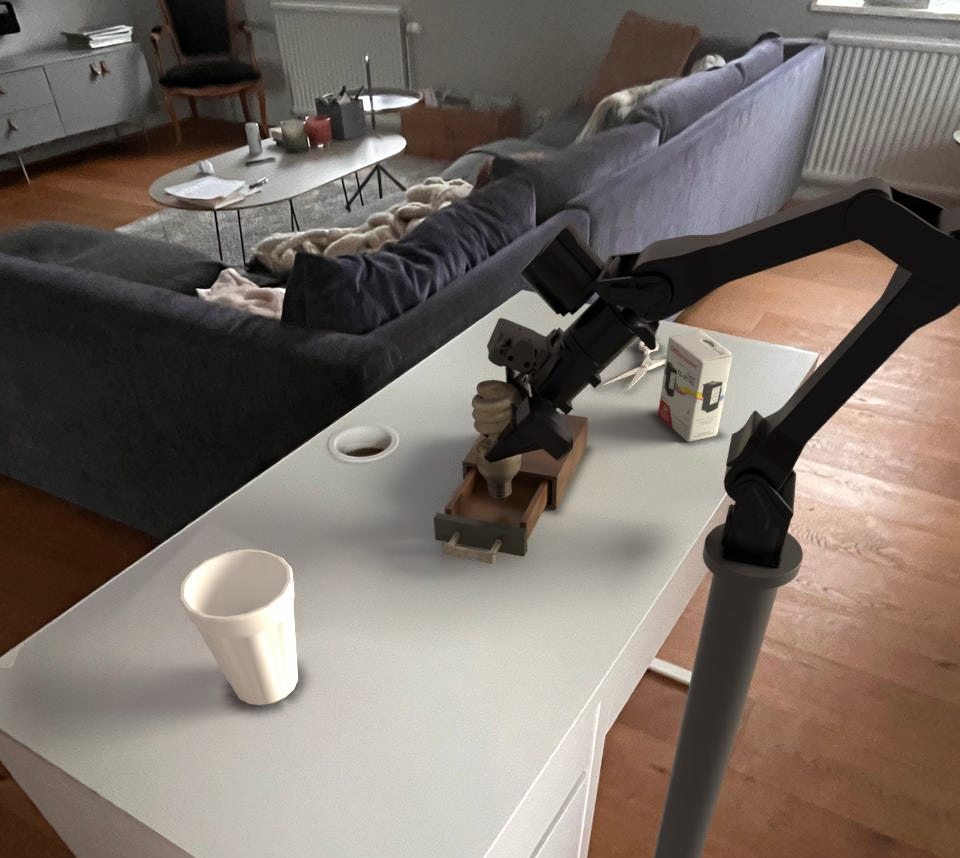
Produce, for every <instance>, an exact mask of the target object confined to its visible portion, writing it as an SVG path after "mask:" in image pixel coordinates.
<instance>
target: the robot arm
mask: <svg viewBox="0 0 960 858" xmlns="http://www.w3.org/2000/svg"><path fill="white" fill-rule="evenodd" d="M854 241H861V242H863V243H864V244H866V245H868V246H870V247H872V248H874V249H875V250H876V251H878V252H879V253H880V254H882V255H884V257H886V258H887V259H889V260H890V261H892V262H893V263H894V264H896V265H897V266H896V268H895V269H894V272H893V274H892V275H891V278H890V279H889V282H887V283H888V284H887V285H886V288H885V289H884V291H883V292H882V294H881V296H880V298H879V299H878V300H877V301H876V302H875V303H874V304H873V305H872V306H871V307H870V308H869V310H868V311H867V312H866V313H865V314H864V315H863V317H862V318H861V319H860V320H859V321H857V323H856V324H855V325H854V326H853V328H852V329H851V330H850V331H849V332H848V333H847V334H846V335H845V336H844V338H843V339H841V341H840V342H839V343H838V344H837V345H836V346H835V348H834V349H833V350H832V351H831V352H830V353H829V354H828V356H827V357H826V358H825V359H824V360H823V361H822V362H821V363H820V364H819V366H818V367H816V369H815V370H813V372H812V373H811V374H810V376H809V377H808V378H807V379H806V380H805V381H804V382H803V383H802V384H801V386H800V387H799V388H798V389H797V390H796V391H795V392H794V393H793V394H792V396H790V398H789V399H788V400H787V401H786V402H785V403H784V404H783V405H782V406H781V408H779V409H778V410H777V411H775V412H773V413H771V414H769V415H767V416H766V417H763V415H762V414H761V413H759V412H758V411H757V410H753V412H752V413H751V414H750V416H749V417H748V419H747V421H746V422H745V424H744V425H743V426H742V427H741V428H739V430H737V431H735V432H734V433H732V434H731V437H730V441H729V446H728V447H729V448H728V453H727V458H726V463H725V466H726V467H725V472H724V477H723V487H724V491H725V492H726V494H727V496H728V497H729V498H730V499H731V500H732V501H734V504H732V503H731V504H729V505H728V509H727V513H726V516H725V522H724V523H725V526H724V531H723V535H722V540H721V544H722V545H723V546H724V550H723V554H722V558H723V559H726V560H731V561H736V562H742V563H747V564H753V565H759V566H764V567H770V568H775V569H778V568H780V565H781V560H782V553H783V547H784V543H785V540H786V536H787V533H789V529H790V526H791V521H792V519H793V517H794V512H795V511H794V510H795V497H796V487H797V472H796V471H795V470H794V468H795V465H796V464H797V462H798V460H799V458H800V457H801V454H802V452H803V450H804V449H805V447H806V445H807V444H808V443H809V441H810V440H811V439H812V438H814V436H815V435H816V434H817V433H818V432H819V431H820V430H821V429H822V428H823V427H824V426H825V425H826V423H828V421H830V420H831V419H832V418H833V417H834V416H835V414H836V413H837V412H838V411H839V410H840V409H841V408H842V407H843V406H844V405H845V404H846V403H847V402H848V401H849V400H850V399H852V397H853V396H854V395H855V394H856V393H857V392H858V390H859V389H860V388H861V387H862V386H864V385H865V383H867V381H868V380H869V379H870V378H871V377H872V376H873V375H874V374H875V373H876V372H877V371H878V370H879V369H880V368H881V367H882V366H883V365H884V363H886V362H887V360H889V358H891V356H892V355H893V354H894V353H895V352H896V351H897V350H898V349H899V348H900V347H901V346H902V345H903V344H904V343H905V342H906V341H907V340H908V339H909V338H910V337H911V336H912V335H913V334H914V333H916V331H918V330H920V329H921V328H923V327H926V326H927V325H930V324H931V323H933V322H935V321H937V320H940V319H941V318H943V317H945V316H947V315H948V314H949V313H951V312H953V311H954V310H955V309H956V308H958V307H959V306H960V206H955V207H951V208H945V207H944V206H942V205H940V204H939V203H936V202H934V201H932V200H930V199H928V198H926V197H923V196H920V195H917V194H915V193H911V192H908V191H906V190H903V189H899V188H897V187H895V186H893V185H891V184H889V183H888V182H887V181H885V180H884V179H882V178H880V177H874V176H870V177H864V178H861V179H859V180H858V181H856V182H855V183H853V184H851V185H849V186H848V187H845V188H841V189H840V190H839V189H838V190H837V191H834V192H830V193H828V194H826V195H822V196H820V197H817V198H815V199H812V200H808V201H806V202H803V203H800V204H798V205H795V206H792V207H789V208H787V209H784V210H782V211H779V212H776V213H773V214H771V215H768V216H765V217H762V218H759V219H757V220H754V221H752V222H749V223H746V224H743V225H740V226H737V227H734V228H732V229H729V230H726V231H723V232H719V233H713V234H687V235H682V236H676V237H671V238H665V239H659V240H656V241H654V242H652V243H650V244H648V245H646V246H645V247H644V248H643V249H642V250H641V251H633V252H625V253H617V254H616V253H615V254H610V255H608V257H607V258H606V260H605V261H604V260H603V259H602V258H601V257H600V256H599V255H598V254H597V253H596V252H595V250H594V249H593V248H592V247H591V246H590V245H589V244H588V243H587V241H586V240H585V239H584V238H583V236H582V234H581V232H580V231H579V230H578V228H577V227H576V226H575V224H573V223H572V222H571V221H568V222H567V223H566V224H565V225H564V226H563V227H562V228H561V229H560V230H559V231H558V232H557V233H556V234H554V235H553V237H552V238H551V237H549V238H548V240H547V241H545V242H544V243H543V245H542V246H541V247H540V248H539V249H538V250H537V251H536V252H535V254H534V255H532V257H531V258H530V259H529V260H528V262H527V263H526V264H525V265H524V266H523V267H522V268H521V270H520V272H518V275H519V276H520V278H522V279H523V280H524V281H525V283H527V285H528V286H529V287H530V288H531V289H532V290H533V291H534V292H535V293H536V294H537V296H539V298H541V299H542V300H543V302H544V303H545V304H546V305H547V306H548V307H549V309H551V310H552V311H553V312H554V313H555V315H558V316H559V315H560V316H561V317H563V318H564V317H566V316H567V315H568V314H570V316H573V315H575V314H576V313H578V311H579V310H581V308H582V307H584V306H585V305H586V303H587V302H588V301H589V300H590V299H591V298H592V297H593V296H594V295H595V294H597V297H596V299H595V300H594V301H593V302H592V303H591V304H589V306H588V307H587V308H586V309H585V310H584V311H583V312H582V313H581V314H580V315H579V316H577V318H576V319H575V320H574V321H573V322H572V323H571V324H569V326H567V328H566V329H565V330H563V329H562V328H561V327H558V328H554V329H552V330H551V331H550V332H549V333H548V334H547V335H543V334H541V333H539V332H537V331H536V330H534V329H532V328H529V327H527V326H524V325H521V324H520V323H517V322H514V321H512V320H510V319H507V318H503V317H499V318H498V319H497V321H496V324H495V326H494V329H493V331H492V333H491V335H490V337H489V340H488V342H487V344H486V349H487V351H488V353H487V354H488V355H487V357H488V358H487V359H488V361H490V362H491V363H492V364H493V365H495V366H497V367H500V368H501V367H505V368H504V371H505V382H507V383H509V384H511V385H513V386H514V387H516V388H517V389H518V391H519V393H520V395H521V399H522V403H521V404H520V405H519V407H516V406H515V405H514V404H513V403H511V420H510V422H509V424H508V425H507V426H506V427H505V429H504V430H503V431H502V432H501V434H500V435H499V436H498V438H497V439H496V440H495V441H494V443H493V444H492V445H491V447H490V448H489V449H488V451H487V452H486V454H485V455H484V458H485V459H486V460H487V461H488V462H490V463H493V462H496V461H500V460H503V459H506V458H509V457H513V456H516V455H520V454H523V453H527V452H531V451H535V450H540V449H544V450H545V451H546V452H547V453H548V454H550V455H551V456H552V457H553V458H554V459H556V460H557V461H560V460H561V459H563V458H564V457H565V456H566V455H567V454H568V453H569V452H570V451H571V450H572V449H573V435H572V430H571V426H570V422H569V421H568V420H567V419H566V418H565V417H563V416H562V415H561V414H565V415H569V413H570V412H572V411H573V410H574V406H573V402H572V401H573V400H574V399H575V398H576V397H577V396H579V394H580V393H582V391H583V390H585V388H587V387H588V386H589V385H590V386H591V387H592V388H593V389H596V388H597V387H598V386H599V385H600V384H601V383H602V378H601V375H600V374H601V373H603V371H604V370H606V369H607V368H608V366H609V365H611V364H613V362H614V361H615V360H617V358H618V357H619V356H620V355H621V354H623V352H624V351H625V350H627V349H628V347H630V346H631V345H632V344H633V343H634V342H635V341H636V340H637V339H639V340H640V342H641V341H642V342H643V343H644V344H645V345H644V346H646V347H648V348H649V349H650V350H654V349H655V348H656V341H657V334H658V330H659V327H660V322H661V321H664V320H667V319H669V318H671V317H673V316H674V315H676V314H678V313H680V312H683V311H685V310H686V309H688V308H690V307H692V306H695V305H696V304H697V303H699V302H700V301H701V300H704V298H706V297H707V296H708V295H710V294H712V293H713V292H714V291H716V290H718V289H719V288H721V287H723V286H725V285H727V284H729V283H731V282H734V281H738V280H740V279H743V278H744V279H745V278H746V277H749V276H753V275H756V274H758V273H759V274H760V273H761V272H765V271H768V270H771V269H774V268H776V267H780V266H782V265H785V264H789V263H791V262H795V261H798V260H801V259H804V258H807V257H810V256H813V255H815V254H820V253H822V252H825V251H828V250H831V249H834V248H837V247H840V246H843V245H846V244H849V243H852V242H854ZM557 409H558V410H559V411H558V410H557ZM560 411H561V412H562V413H560ZM483 435H484V436H485V437H489V435H486V434H483Z"/></svg>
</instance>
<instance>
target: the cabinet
mask: <svg viewBox="0 0 960 858" xmlns="http://www.w3.org/2000/svg"><path fill="white" fill-rule="evenodd" d="M560 414H561V415H562V416H563V417H565V418H566V419H567V420H568V421H569V422H570V426H571V430H572V435H573V449H572V450H571V451H570V452H569V453H568V454H567V455H566V456H565V457H564V458H563V459H561V460H560V461H557V460H556V459H554V458H553V457H552V456H551V455H550V454H548V453H547V452H546V451H545V450H544V449H540V450H535V451H531V452H527V453H523V454H521V466H520V469H519V471H518V472H517V475H523V476H529V477H535V478H541V479H547V480H553V481H552V494H551V496H550V498H549V500H548V502H547V504H546V506H545V508H544V509H548V510H551V511H552V510H553V511H556V510H557V509H558V507H559V505H560V502H561V501H562V498H563V497H564V494H565V493H566V491H567V488H568V487H569V485H570V483H571V481H572V479H573V476H574V475H575V473H576V471H577V469H578V466H579V464H580V463H581V460H582V458H583V457H584V455H585V452H586V451H587V443H588V442H587V441H588V428H589V417H588V416H581V415H573V414H567V415H565V414H564V413H560ZM484 438H487V437H485V436H484V435H483V434H481V433H480V435H479V436H478V438H477V439H476V441H475V442H474V444H473V445H472V447H471V448H470V450H469V451H468V452H467V454H466V455H465V457H464V458H463V460H462V461H461V463H462V481H463V480H464V479H465V477H466V476H467V474H468V473H469V471H470V470H471V468H472V467H475V468H478V467H477V460H476V446H477V444H478V443H479V442H480V441H481V440H483V439H484Z"/></svg>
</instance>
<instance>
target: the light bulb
mask: <svg viewBox="0 0 960 858" xmlns="http://www.w3.org/2000/svg"><path fill="white" fill-rule="evenodd" d="M475 388H476V392H477V394H475V395H474V396H473V398H472V399H471V407H472V408H473V410H472V411H471V416H472V418H473V419H474V422H473V428H474V429H475V431H476V432H477V433H479V434H480V435H481V434H486V435H489V437H487V438H484V439H483V440H481V441H480V442H479V443H478V444H477V446H476V460H477V467H478V470H479V472H480V473H481V474H482V475H483V476H484V478H485V479H486V480H487V484H488V492H489V493H490V495H491V496H492V497H493V498H494V499H500V500H503V501H504V500H506V499H507V497H508V496H509V495H510V494H511V492H512V489H511V480H512V478H513V477H514V476H515V475H516V474H517V472H518V471H519V469H520V466H521V454H520V455H516V456H513V457H509V458H506V459H503V460H500V461H496V462H493V463H490V462H488V461H487V460H486V459H485V458H484V455H485V454H486V452H487V451H488V449H489V448H490V447H491V445H492V444H493V443H494V441H495V440H496V439H497V438H498V436H499V435H500V434H501V432H502V431H503V430H504V429H505V427H506V426H507V425H508V424H509V422H510V420H511V403H513V404H514V405H515V406H516V407H519V405H520V404H521V403H522V399H521V395H520V393H519V391H518V389H517V388H516V387H514V386H513V385H511V384H509V383H507V382H506V381H503V380H498V379H488V380H487V379H486V380H482V381H480V382H479V383H477V385H476V387H475Z"/></svg>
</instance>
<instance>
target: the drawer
mask: <svg viewBox="0 0 960 858" xmlns="http://www.w3.org/2000/svg"><path fill="white" fill-rule="evenodd" d="M552 481H553V480H547V479H541V478H535V477H529V476H523V475H517V474H516V475H515V476H514V477H513V478H512V480H511V489H512V492H511V494H510V495H509V496H508V497H507V499H506V500H504V501H503V500H500V499H494V498H493V497H492V496H491V495H490V493H489V492H488V484H487V480H486V479H485V478H484V476H483V475H482V474H481V473H480V472H479V470H478V468H475V467H472V468H471V470H470V471H469V473H468V474H467V476H466V477H465V479H464V480H463V479H462V482H461V483H460V484H459V487H457V489H456V491H455V493H454V494H453V495H452V497H451V498H450V500H449V501H448V502H447V504H446V506H445V507H444V513H443V512H436V513H435V515H434V516H433V528H434V539H435V541H439V542H444V544H443V545H442V551H441V552H442V554H443V555H445V556H451V557H456V558H460V559H467V560H471V561H476V562H481V563H486V564H492V565H494V564H495V562H496V559H497V553H502V554H506V555H513V556H517V557H522V558H524V557H525V556H526V555H527V552H528V540H529V538H530V537H531V534H532V532H533V531H534V529H535V527H536V525H537V523H538V521H539V519H540V517H541V515H542V514H543V512H544V509H546V508H545V506H546V504H547V502H548V500H549V498H550V496H551V494H552ZM464 546H465V547H464Z"/></svg>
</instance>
